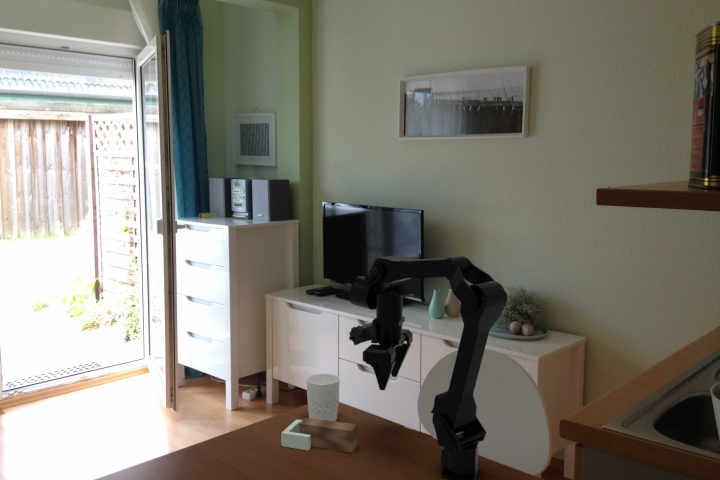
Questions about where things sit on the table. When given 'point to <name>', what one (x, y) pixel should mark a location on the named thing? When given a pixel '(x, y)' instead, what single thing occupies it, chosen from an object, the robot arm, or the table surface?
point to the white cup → (323, 396)
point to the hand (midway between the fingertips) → (388, 383)
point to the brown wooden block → (330, 434)
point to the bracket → (295, 437)
